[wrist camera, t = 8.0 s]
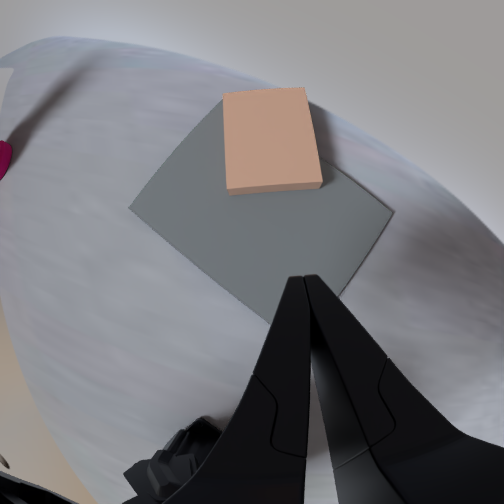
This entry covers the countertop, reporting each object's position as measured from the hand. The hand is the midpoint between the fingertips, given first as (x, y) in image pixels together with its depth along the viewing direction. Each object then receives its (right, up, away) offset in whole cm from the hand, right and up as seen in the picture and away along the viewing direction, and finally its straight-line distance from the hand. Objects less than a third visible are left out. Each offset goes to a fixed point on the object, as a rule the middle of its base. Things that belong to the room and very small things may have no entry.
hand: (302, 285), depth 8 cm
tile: (0, +6, +13) cm, 14 cm away
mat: (-1, +4, +14) cm, 15 cm away
